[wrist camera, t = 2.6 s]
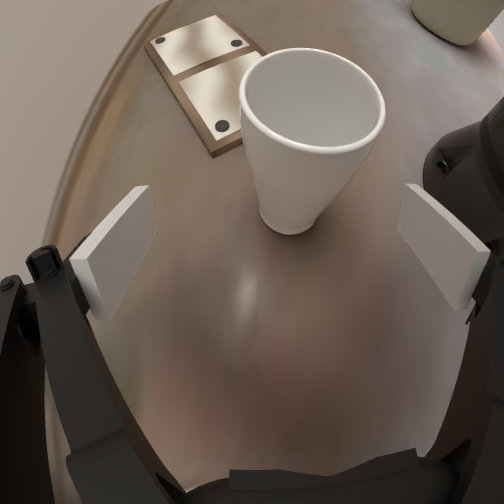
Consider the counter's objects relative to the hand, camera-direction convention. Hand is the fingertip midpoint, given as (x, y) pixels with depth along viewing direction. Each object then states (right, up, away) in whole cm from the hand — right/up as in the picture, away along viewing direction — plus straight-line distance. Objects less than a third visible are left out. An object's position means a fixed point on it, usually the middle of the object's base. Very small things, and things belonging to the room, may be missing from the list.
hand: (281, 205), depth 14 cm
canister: (+34, +40, +19) cm, 56 cm away
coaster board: (-6, +19, +16) cm, 25 cm away
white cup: (+2, +2, +12) cm, 12 cm away
